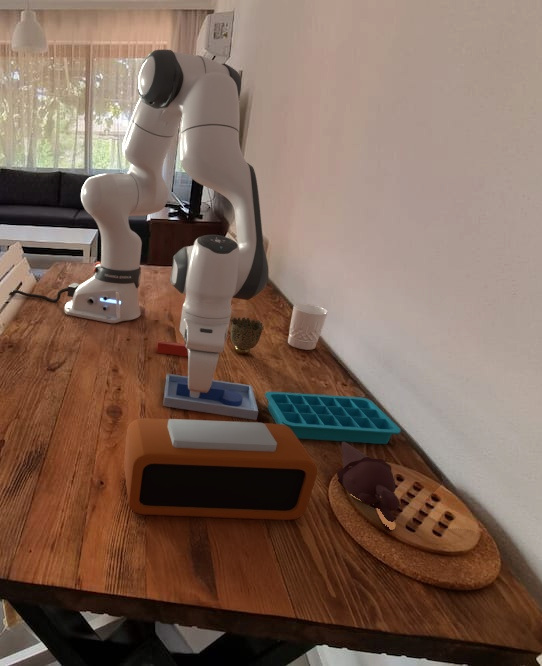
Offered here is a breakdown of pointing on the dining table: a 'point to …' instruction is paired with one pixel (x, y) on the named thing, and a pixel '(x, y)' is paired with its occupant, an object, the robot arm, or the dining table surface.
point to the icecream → (369, 481)
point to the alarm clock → (217, 469)
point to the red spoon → (172, 348)
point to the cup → (245, 334)
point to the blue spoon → (212, 394)
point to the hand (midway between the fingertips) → (194, 389)
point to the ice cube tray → (331, 417)
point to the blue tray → (210, 406)
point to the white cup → (306, 326)
